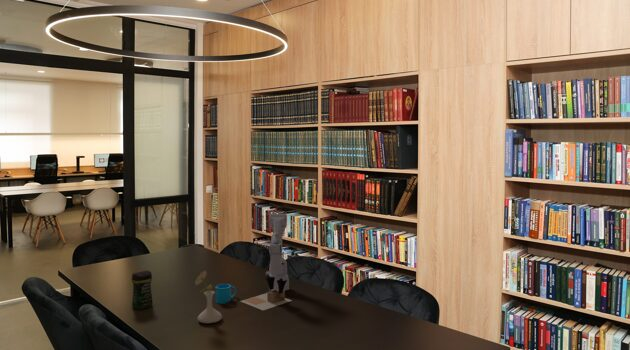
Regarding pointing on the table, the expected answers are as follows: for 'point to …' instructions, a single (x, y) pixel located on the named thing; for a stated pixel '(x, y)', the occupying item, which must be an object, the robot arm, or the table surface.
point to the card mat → (263, 302)
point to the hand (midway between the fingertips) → (276, 291)
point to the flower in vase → (208, 303)
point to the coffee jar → (142, 290)
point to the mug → (224, 293)
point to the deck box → (275, 296)
